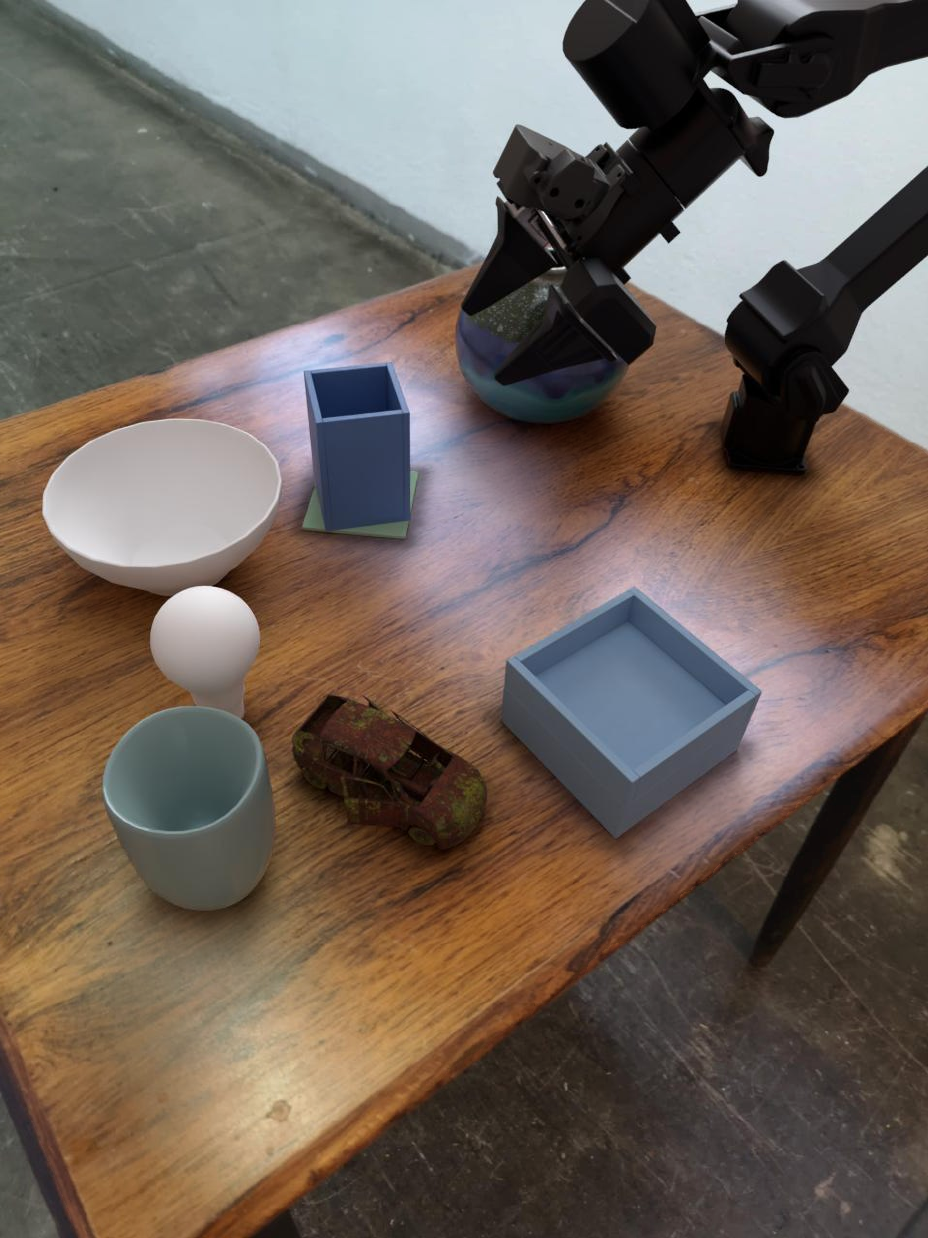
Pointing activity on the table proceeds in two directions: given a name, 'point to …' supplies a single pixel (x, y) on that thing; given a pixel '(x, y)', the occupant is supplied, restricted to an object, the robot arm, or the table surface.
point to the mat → (386, 530)
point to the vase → (542, 396)
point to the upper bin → (359, 444)
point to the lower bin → (626, 708)
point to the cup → (192, 805)
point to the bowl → (164, 503)
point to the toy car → (389, 772)
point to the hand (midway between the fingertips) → (480, 344)
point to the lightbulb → (207, 645)
